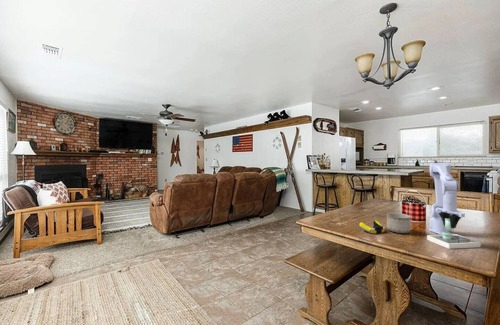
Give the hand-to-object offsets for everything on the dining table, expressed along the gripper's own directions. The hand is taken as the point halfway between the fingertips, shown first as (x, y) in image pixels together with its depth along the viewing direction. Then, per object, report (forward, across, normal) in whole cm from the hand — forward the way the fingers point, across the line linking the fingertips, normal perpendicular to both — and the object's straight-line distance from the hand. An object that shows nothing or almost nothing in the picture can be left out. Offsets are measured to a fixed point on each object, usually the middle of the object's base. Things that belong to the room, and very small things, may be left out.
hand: (449, 226), depth 125 cm
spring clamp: (+9, -23, -30) cm, 39 cm away
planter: (+9, -21, -14) cm, 27 cm away
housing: (+9, +1, +1) cm, 9 cm away
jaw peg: (+2, 0, 0) cm, 2 cm away
